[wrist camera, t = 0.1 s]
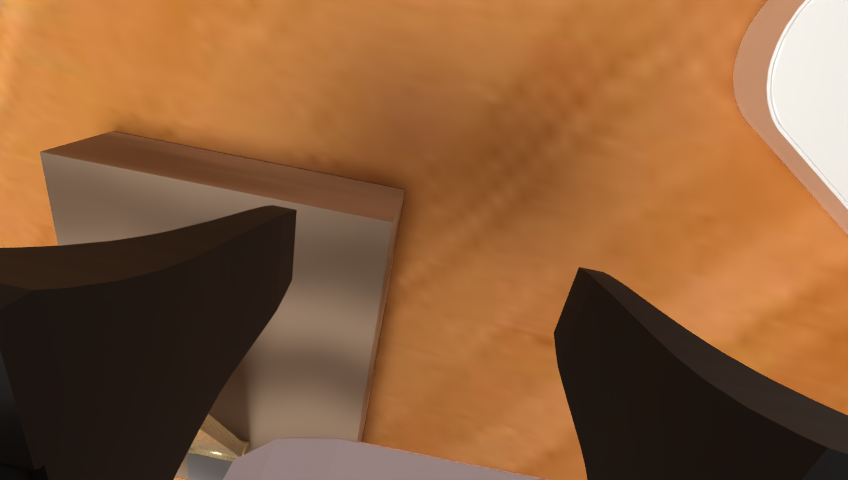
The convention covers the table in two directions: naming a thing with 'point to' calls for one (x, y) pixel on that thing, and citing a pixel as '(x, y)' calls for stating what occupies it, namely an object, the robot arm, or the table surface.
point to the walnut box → (307, 293)
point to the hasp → (217, 442)
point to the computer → (800, 93)
